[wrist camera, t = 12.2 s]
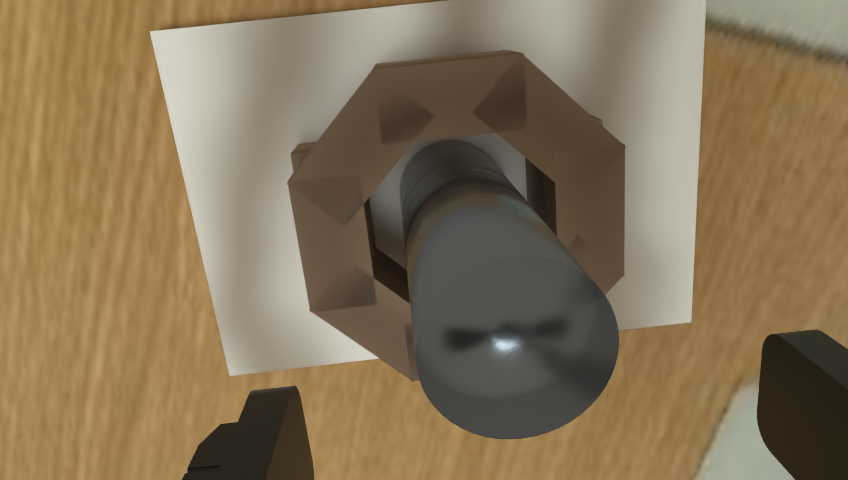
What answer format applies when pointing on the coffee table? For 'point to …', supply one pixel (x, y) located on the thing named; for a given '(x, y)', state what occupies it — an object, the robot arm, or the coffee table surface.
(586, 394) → the steel peg
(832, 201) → the coffee table surface
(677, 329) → the coffee table surface
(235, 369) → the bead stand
